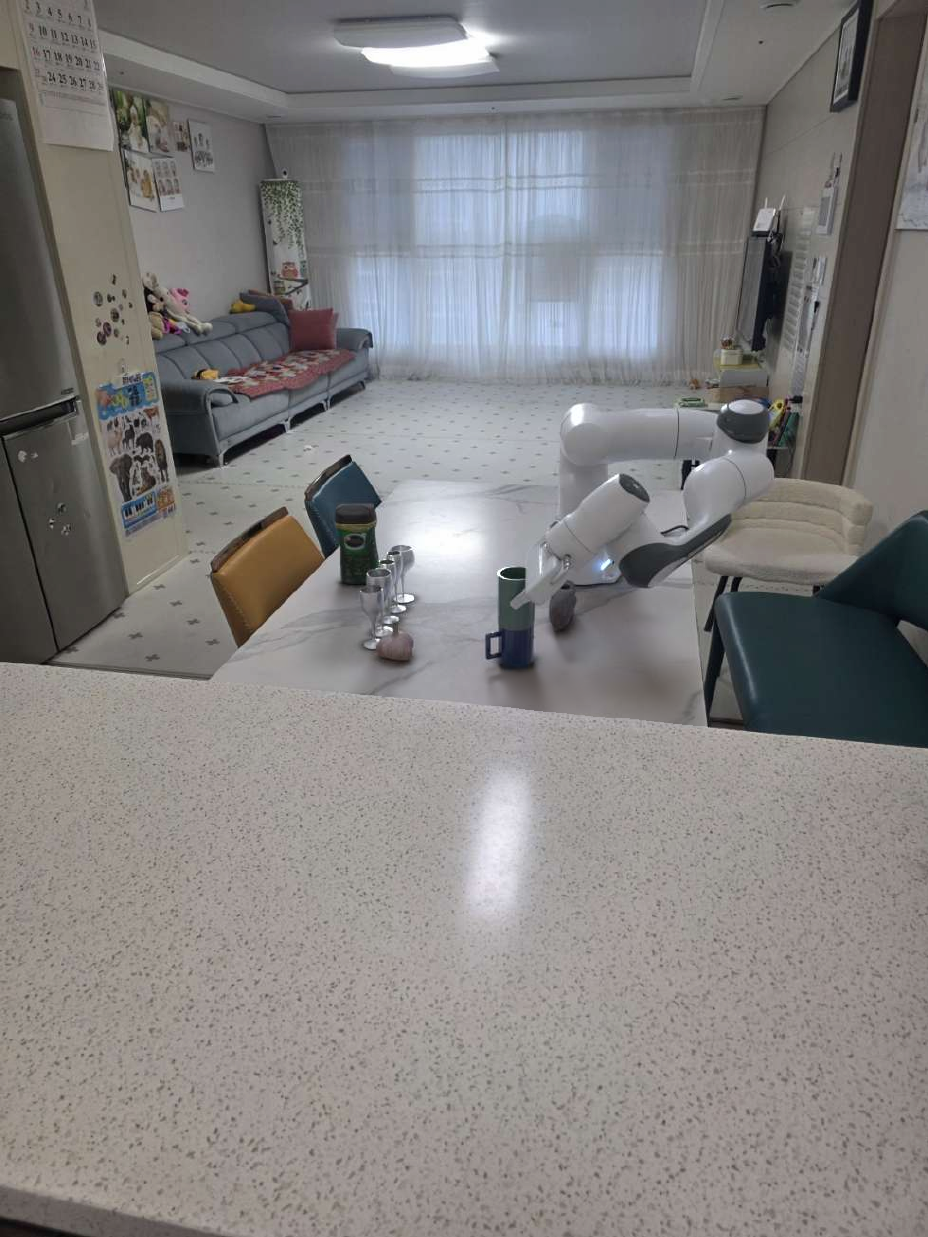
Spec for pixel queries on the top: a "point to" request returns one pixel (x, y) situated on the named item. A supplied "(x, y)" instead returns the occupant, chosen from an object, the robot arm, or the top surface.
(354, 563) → the coffee jar
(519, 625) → the green cup
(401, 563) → the goblet set
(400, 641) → the garlic bulb
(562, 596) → the perforated stone tool
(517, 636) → the mug
